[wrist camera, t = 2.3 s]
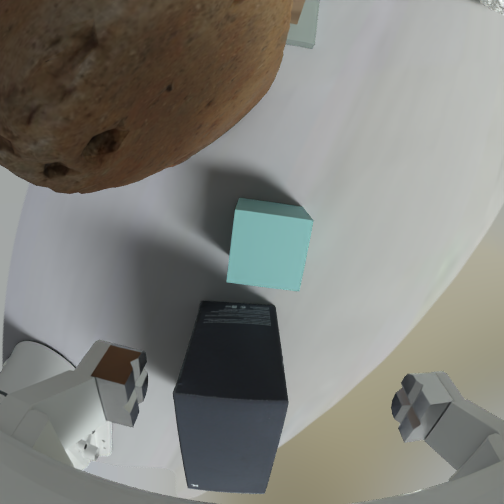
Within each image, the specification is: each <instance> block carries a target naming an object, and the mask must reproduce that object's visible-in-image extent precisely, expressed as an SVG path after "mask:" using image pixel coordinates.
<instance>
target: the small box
mask: <svg viewBox="0 0 504 504" xmlns="http://www.w3.org/2000/svg"><path fill="white" fill-rule="evenodd" d="M173 399H174V405H175V413H176V421H177V428H178V435H179V442H180V448H181V454H182V460H183V465H184V471H185V476H186V481H187V486H188V488H190V489H198V490H205V491H216V492H228V493H249V494H264V493H265V491H266V488H267V484H268V481H269V477H270V473H271V470H272V466H273V462H274V458H275V455H276V452H277V448H278V444H279V440H280V436H281V433H282V429H283V425H284V421H285V416H286V412H287V408H288V403H289V402H288V395H287V388H286V380H285V373H284V364H283V356H282V349H281V342H280V336H279V328H278V321H277V314H276V307H275V306H273V305H257V304H241V303H227V302H211V301H201V302H200V308H199V312H198V316H197V319H196V322H195V326H194V329H193V332H192V336H191V339H190V342H189V346H188V349H187V353H186V356H185V359H184V363H183V365H182V369H181V372H180V374H179V378H178V381H177V384H176V386H175V388H174V391H173Z"/></svg>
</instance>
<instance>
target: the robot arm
mask: <svg viewBox="0 0 504 504" xmlns="http://www.w3.org/2000/svg"><path fill="white" fill-rule="evenodd" d="M146 362H147V360H146V353H145V352H144V351H142V350H138V349H134V348H130V347H126V346H122V345H118V344H113V343H110V342H106V341H102V340H98V341H96V342H95V343H94V344H93V345H92V347H91V348H90V350H89V351H88V352H87V354H86V355H85V356H84V358H83V359H82V360H81V362H80V363H79V365H78V366H77V367H76V369H75V368H74V367H73V366H72V365H71V364H70V363H69V362H68V361H67V360H65V359H64V358H63V357H62V356H60V355H59V354H57V353H56V352H54V351H53V350H51V349H50V348H48V347H46V346H44V345H41V344H39V343H36V342H32V341H23V342H20V343H18V344H17V345H16V346H15V348H14V350H13V352H12V354H11V356H10V358H8V359H6V361H5V362H4V364H3V369H2V371H1V372H0V504H215V503H207V502H200V501H194V500H188V499H182V498H176V497H172V496H167V495H162V494H158V493H153V492H149V491H145V490H141V489H137V488H134V487H130V486H127V485H123V484H120V483H117V482H113V481H110V480H107V479H104V478H101V477H98V476H96V475H93V474H90V473H87V472H85V471H82V470H83V469H86V468H87V467H88V465H89V464H90V462H91V460H92V461H96V460H97V458H98V456H110V454H111V452H112V422H113V423H117V424H121V425H125V426H129V427H133V426H134V424H135V421H136V419H137V416H138V414H139V407H138V404H139V403H141V402H143V401H144V398H145V396H146V392H147V387H148V373H147V371H146V370H145V369H144V366H145V364H146ZM401 384H402V388H401V389H400V390H399V391H398V392H396V394H395V396H394V398H393V400H392V406H391V409H392V414H393V417H394V419H395V420H397V421H398V422H400V425H399V428H398V429H399V431H400V433H401V436H402V438H403V441H404V442H412V441H419V440H425V442H426V443H427V444H428V445H429V446H430V447H432V448H433V449H434V450H435V451H436V452H437V453H438V454H439V455H440V456H441V457H443V458H444V459H445V460H446V461H447V462H448V463H449V464H450V465H451V466H452V467H454V468H455V469H456V470H457V472H456V473H455V474H454V475H453V476H451V478H450V479H449V481H448V482H446V483H442V484H439V485H436V486H433V487H429V488H426V489H422V490H418V491H414V492H410V493H406V494H401V495H397V496H392V497H387V498H382V499H376V500H371V501H364V502H357V503H349V504H504V420H502V419H500V418H498V417H497V416H495V415H493V414H492V413H490V412H488V411H487V410H485V409H483V408H482V407H480V406H478V405H476V404H475V403H473V402H471V401H470V400H465V399H464V398H463V396H462V395H461V393H460V392H459V390H458V389H457V388H456V386H455V385H454V383H453V382H452V380H451V379H450V377H449V376H448V375H447V373H445V372H444V371H438V372H431V373H414V374H407V375H406V376H405V377H404V379H403V381H402V382H401Z"/></svg>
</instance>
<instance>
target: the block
mask: <svg viewBox="0 0 504 504" xmlns="http://www.w3.org/2000/svg"><path fill="white" fill-rule="evenodd" d="M292 6H293V0H0V165H1V166H3V167H5V168H7V169H8V170H9V171H11V172H12V173H14V174H15V175H16V176H18V177H20V178H22V179H24V180H26V181H28V182H30V183H32V184H34V185H36V186H42V187H48V188H50V189H52V190H53V191H55V192H58V193H67V194H71V193H77V192H79V193H81V194H84V193H92V192H96V191H100V190H103V189H107V188H112V187H115V188H116V187H120V186H124V185H128V184H131V183H134V182H137V181H140V180H142V179H144V178H146V177H148V176H150V175H153V174H155V173H157V172H160V171H161V170H163V169H165V168H168V167H173V166H175V165H178V164H180V163H182V162H184V161H186V160H187V159H189V158H190V157H191V156H192V155H195V154H196V153H197V152H199V151H200V150H202V149H203V148H205V147H206V146H208V145H209V144H211V143H212V142H214V141H215V140H216V139H218V138H219V137H220V136H222V135H223V134H224V133H226V132H227V131H228V130H229V129H231V128H232V127H233V126H234V125H235V124H236V123H238V122H239V121H240V120H241V119H242V118H243V117H244V116H245V115H246V114H247V113H248V112H249V111H250V110H251V109H252V108H253V107H254V106H255V105H256V104H257V103H258V102H259V101H260V100H261V99H262V97H263V96H264V95H265V94H266V93H267V91H268V90H269V88H270V87H271V85H272V83H273V81H274V79H275V77H276V75H277V72H278V70H279V68H280V64H281V61H282V58H283V50H284V47H285V44H286V40H287V36H288V32H289V29H290V21H291V10H292Z"/></svg>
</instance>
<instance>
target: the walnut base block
mask: <svg viewBox="0 0 504 504" xmlns="http://www.w3.org/2000/svg"><path fill="white" fill-rule="evenodd" d="M304 3H305V0H293V6H292V10H291V21H290V23H291V24H298V21H299V18H300V15H301V12H302V9H303V6H304Z"/></svg>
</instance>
